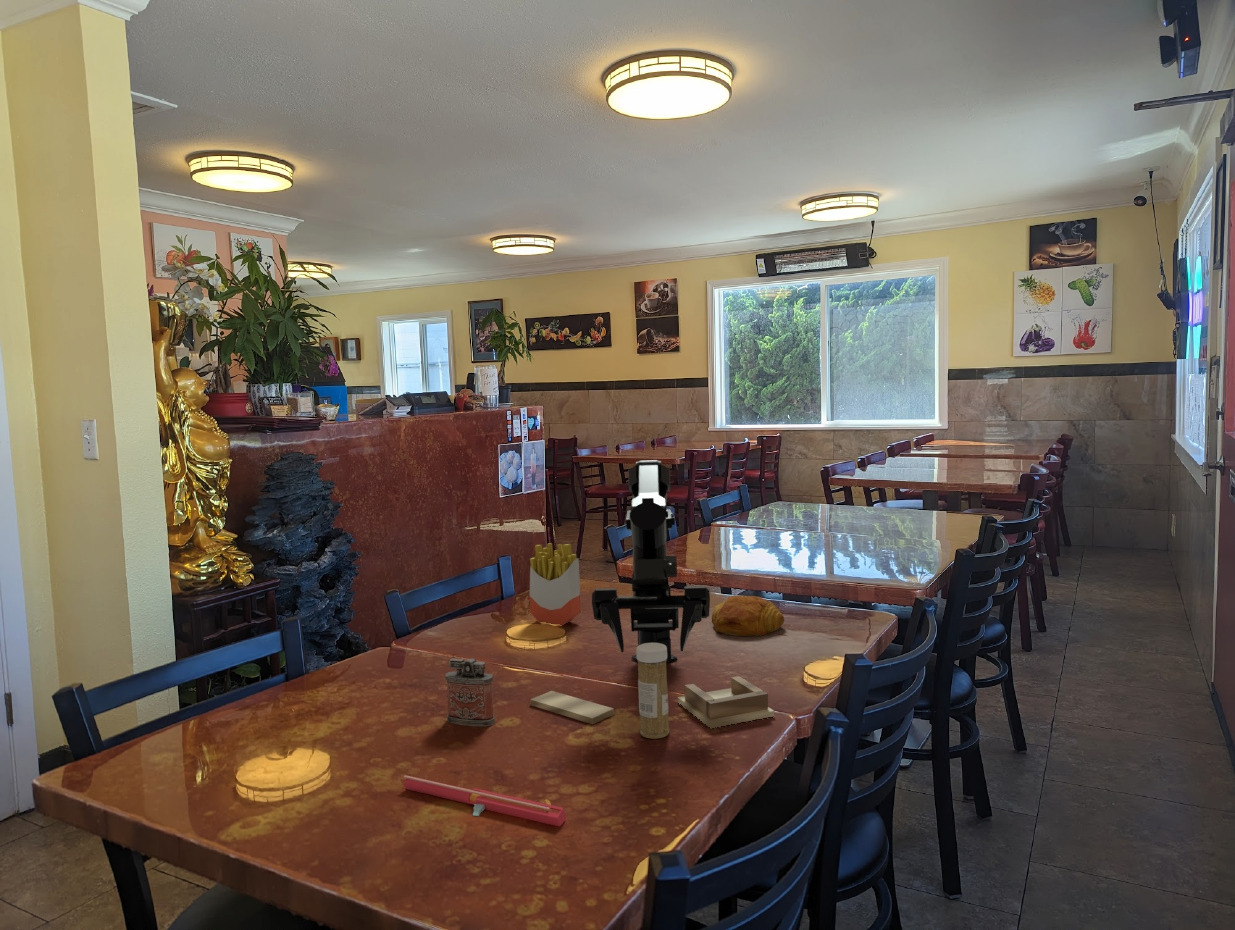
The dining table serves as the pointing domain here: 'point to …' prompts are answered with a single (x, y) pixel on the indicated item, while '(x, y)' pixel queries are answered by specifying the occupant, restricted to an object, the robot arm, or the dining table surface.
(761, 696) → the beige wooden u-shaped tray
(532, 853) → the dining table surface
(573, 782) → the dining table surface
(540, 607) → the french fries container
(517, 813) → the red bar
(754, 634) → the croissant
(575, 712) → the loose plank
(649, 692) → the sprinkles bottle
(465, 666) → the lighter
